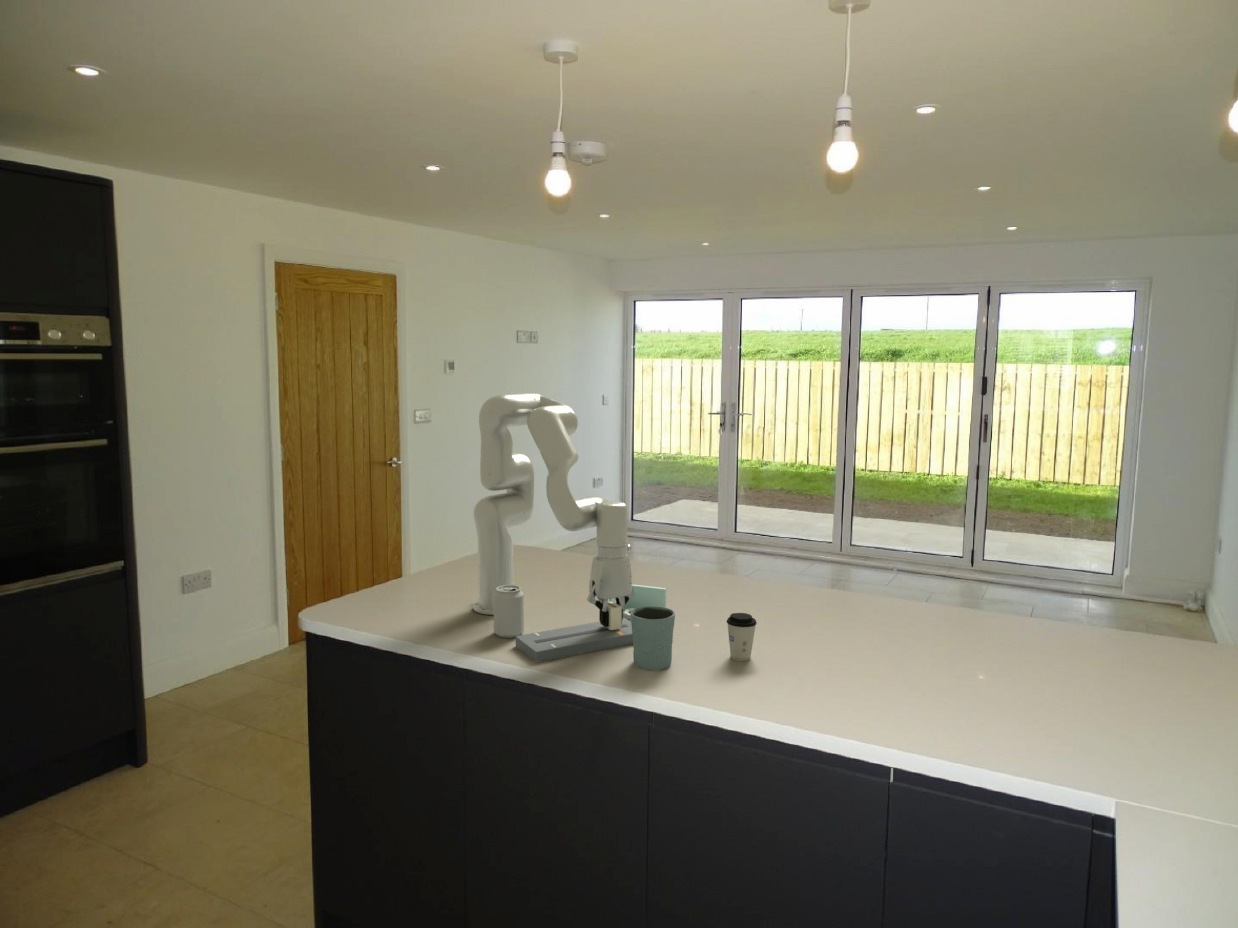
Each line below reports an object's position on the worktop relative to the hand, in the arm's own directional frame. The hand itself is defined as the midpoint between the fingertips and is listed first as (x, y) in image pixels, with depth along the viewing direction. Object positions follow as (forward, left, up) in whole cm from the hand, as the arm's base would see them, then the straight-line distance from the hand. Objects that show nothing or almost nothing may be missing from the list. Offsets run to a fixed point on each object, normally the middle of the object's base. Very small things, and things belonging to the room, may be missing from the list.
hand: (611, 623), depth 204 cm
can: (-15, -21, -4) cm, 26 cm away
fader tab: (0, 0, -1) cm, 1 cm away
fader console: (0, -8, -4) cm, 9 cm away
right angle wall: (-11, +15, -5) cm, 19 cm away
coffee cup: (+26, +20, -4) cm, 33 cm away
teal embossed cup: (+19, 0, -4) cm, 19 cm away
